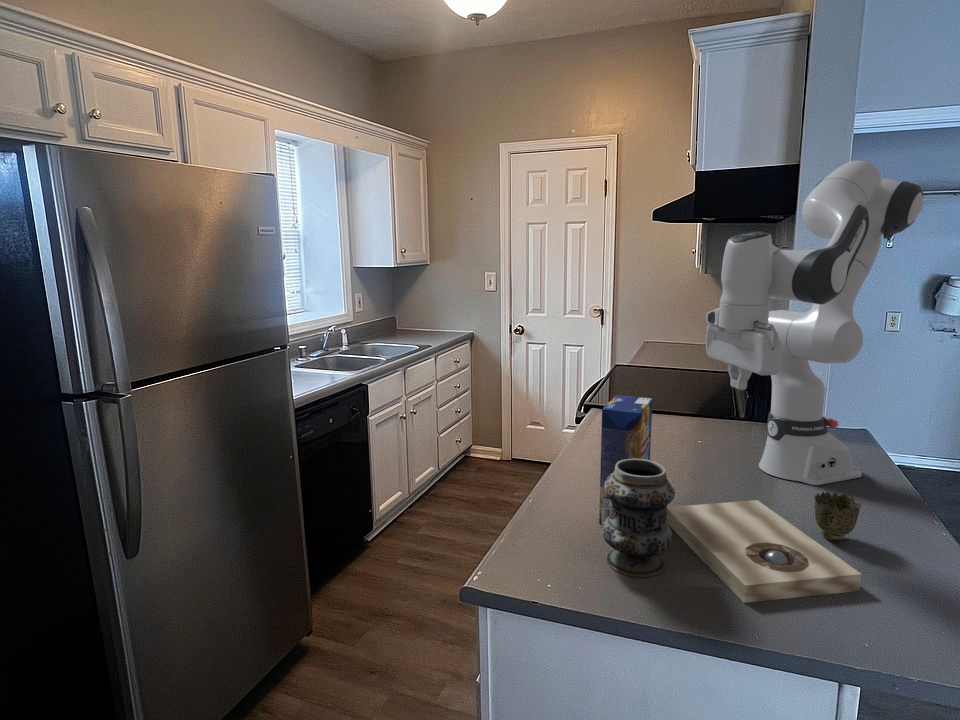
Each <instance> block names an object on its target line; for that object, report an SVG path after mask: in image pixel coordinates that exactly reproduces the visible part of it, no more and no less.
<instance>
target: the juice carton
mask: <svg viewBox="0 0 960 720" xmlns="http://www.w3.org/2000/svg"><path fill="white" fill-rule="evenodd" d="M652 417H653V398H652V397H651V398H650V397H642V396H640V397H639V396H631V395H630V396H629V395H621V394H616V395H615V396H613V398H612V399H611V400H610V401H609V402H608V403H606V404H605V405H604V406H603V408H602V409H601V432H600V433H601V435H600V436H601V443H600V472H599V473H600V477H599V480H600V481H599V515H598V516H599V518H598V524H601V525H602V524H603V522H604V521H605V520H606V518H608V517H609V514H610V503H611V499H610V498H609V497H608V495H607V494H606V492H605V489H604V484H605V480H606V479H607V477H608V476H609V475H610V474H612V473H614V470H615V465H616V463H617V462H618V461H621V460H624V459H645V460H650V461H651V447H652V446H651V445H652V444H651V443H652V422H653V421H652Z"/></svg>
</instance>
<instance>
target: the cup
mask: <svg viewBox="0 0 960 720" xmlns="http://www.w3.org/2000/svg"><path fill="white" fill-rule="evenodd" d="M855 500H856V499H855V498H854V497H853V496H852V497H850V496H848V495H847V494H845V493H843V494H841V495H838V493H837V492H836V491H835V492H833V494H831V492H830V491H826V492H824V491H822V492H821V494H819V492H817V493H816V495H814V517H815V520H816V521H815V522H816V524H817V526H818V527H819V528H820V529H821V530H822V532H821V533H822V536H823V538H825V539H826V540H828V541H830V542H834V543H840V542H844V540H845V538H846V535H847V534H848V535H849V534H851V532H852V531H853V530H854V528H855V527H856V525H857V520H858V517H859V514H860V510H861V506H862V504H861V501H858V502H856V501H855Z"/></svg>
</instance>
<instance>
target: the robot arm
mask: <svg viewBox="0 0 960 720" xmlns="http://www.w3.org/2000/svg"><path fill="white" fill-rule="evenodd" d="M923 205H924V192H923V189H922V187H921V186H920V185H918V184H915V183H913V182H910V181H906V180H903V181H899V180H895V179H890V178H884V177H882V174H881V172H880V170H879V169H878V168H877V166H876V165H874V164H873V163H872V162H869V161H866V160H859V159H858V160H850V161H848V162H846V163H844V164H842V165H841V166H838V167H837V168H835V170H833V171H832V172H830V173H829V174H828V175H826V176H825V177H824V178H822V179H821V180H819V181H818V183H816V185H815V186H814V188H813V189H812V190H811V192H810V193H809V194H808V195H807V197H806V198H805V199H804V202H803V204H802V207H801V215H802V220H803V223H804V224H805V226H806V228H808V230H809V231H811V233H812V234H814V235H816V236H817V237H820V238H822V239H826V240H829V241H828V243H827V244H826V246H823V247H819V248H813V249H812V248H811V249H780V247H777V246H776V245H774V244H773V240H772V235H771V234H770V232H765V231H749V232H741V233H737V234H735V235H733V236H731V237H730V238H729V239H727V242H726V244H725V248H724V253H723V257H722V265H721V274H720V275H721V277H720V282H721V285H722V291H721V297H720V299H719V306H718V307H717V308H715V309H713V310H710V311H708V312H706V314H705V322H706V324H708V325H707V326H706V331H705V332H706V333H705V351H706V354H707V356H708V358H711V359H714V360H717V361H720V362H722V363H726V364H727V372H728V374H729V377H730V381H729V383H730V387H732V388H735V389H737V390H739V391H745V390H746V389H747V387H748V381H749V379H751V376H752V374H753V373H755V374H756V375H759V376H770V378H771V400H770V403H771V404H770V411H769V412H768V417H767V424H766V425H767V428H766V429H767V438H766V443H765V447H764V450H763V454H762V456H761V459H760V461H759V464H758V466H759V469H760V470H761V471H763V472H764V473H766V474H768V475H771V476H774V477H777V478H779V479H780V478H781V479H784V480H790V481H795V482H800V483H801V482H802V483H804V484H809V485H811V486H820V485H821V486H822V485H826V484H832V483H838V482H843V481H848V480H852V479H857V478H862V477H863V474H862V471H861V469H859V468H858V467H857V466H856V465H853V464H852V454H851V451H850V449H849V448H848V447H847V445H845V444H844V443H843V442H841V441H840V440H839V439H838V438H836V437H835V436H834V435H833V434H832V433H830V432H829V429H828V427H829V428H831V429H837V427H839V425H840V423H839V421H838V420H835V419H834V418H828V419H827V418H826V417H824V416H823V414H824V405H825V395H826V387H825V385H824V382H823V381H822V380H821V378H819V377H818V376H817V375H816V374H815V373H814V371H813V370H812V368H811V366H810V362H809V361H811V362H816V363H821V364H846V363H849V362H852V361H853V360H854V359H855V358H856V357H857V356H858V354H860V352H861V350H862V347H863V344H864V333H863V330H862V328H861V326H860V325H859V324H858V323H857V321H856V320H855V317H854V313H853V311H854V310H853V309H854V304H855V302H856V299H857V296H858V294H859V293H860V290H861V288H862V286H863V284H864V283H865V281H866V279H867V277H868V275H869V273H870V272H871V270H872V268H873V266H874V263H875V261H876V259H877V256H878V253H879V250H880V247H881V244H882V236H883V239H884V240H885V239H887V240H888V239H890V238H893V236H895V234H898V233H901V232H903V231H905V230H907V229H908V228H909V227H910V226H912V225H913V224H914V222H915V221H916V220H917V218H918V217H919V216H920V214H921V212H922V209H923ZM771 299H773V300H774V299H776V300H780V301H781V300H785V301H797V302H798V301H799V302H803V303H809V304H812V305H811V308H810V309H809V310H808V311H806V312H805V311H797V310H790V309H789V310H788V309H778V310H770V309H771V308H770V307H771Z"/></svg>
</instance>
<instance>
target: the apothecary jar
mask: <svg viewBox="0 0 960 720" xmlns="http://www.w3.org/2000/svg"><path fill="white" fill-rule="evenodd" d="M604 489H605V492H606V494H607V495H608V497H609V498H610V499H611V503H610V514H609V517H608V518H606V520H605V521H604V522H603V524H601V525H602V526H601V537H602V538H603V540H604V541H605V543H606V544H607V545H608V546H610V547H611V549H612V550H611V551H610V552H609V553H608V554H607V557H606V561H607V564H608V565H609V566H610V568H611V569H613V571H616V572H618V573H620V574H622V575H624V576H629V577H633V578H651V577H655V576H657V575H660V574H661V573H662V572H663V571H664V569H665V567H666V566H665V560H664V559H662V558H660V557H659V555H661V554H663V553H664V552H666V551H667V550H668V549H669V548H671V545H672V543H673V537H674V536H673V532H672V528H671V527H670V526H669V525H668V524H667V523H666V512H667V507H668V505H669V504H670V503H672V501H673V500H674V498H675V495H676V489H675V486H674V484H673V483H672V481H671V480H670V479H669V478H668V477H667V472H666V468H665V467H664V465H662V464H660V463H658V462H656V461H652V460H651V459H650V460H645V459H624V460H621V461H618V462H617V463H616V465H615V470H614V473H612V474H610V475H609V476H608V477H607V479H606V480H605V484H604Z"/></svg>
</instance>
